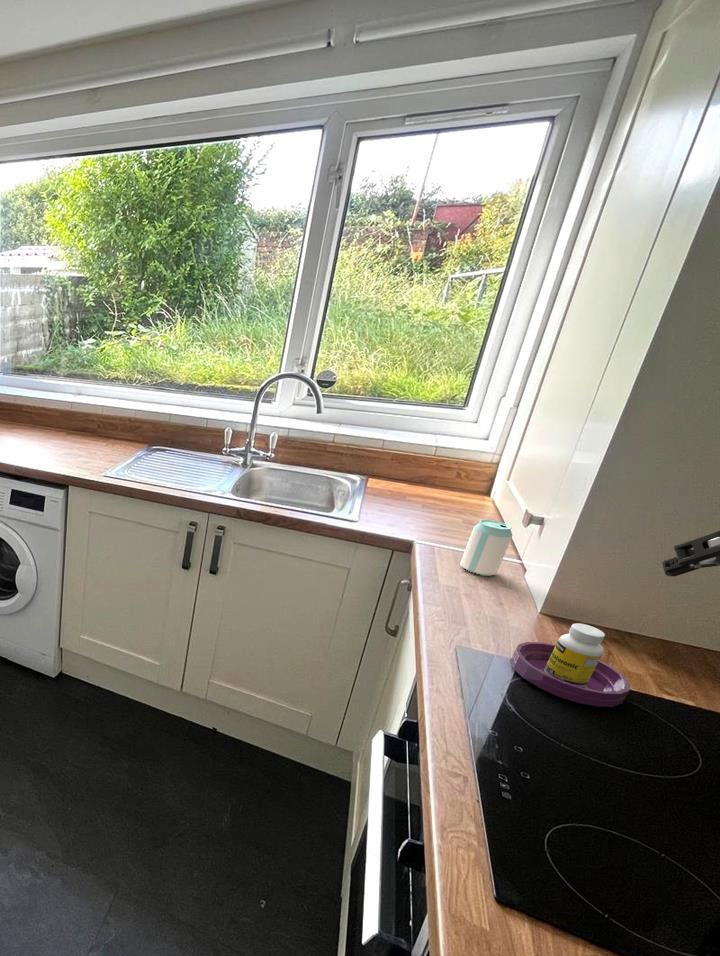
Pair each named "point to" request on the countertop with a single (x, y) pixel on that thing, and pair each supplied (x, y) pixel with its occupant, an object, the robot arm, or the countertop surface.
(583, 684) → the supplement bottle
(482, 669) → the countertop surface
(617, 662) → the countertop surface
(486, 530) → the can
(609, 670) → the dish
